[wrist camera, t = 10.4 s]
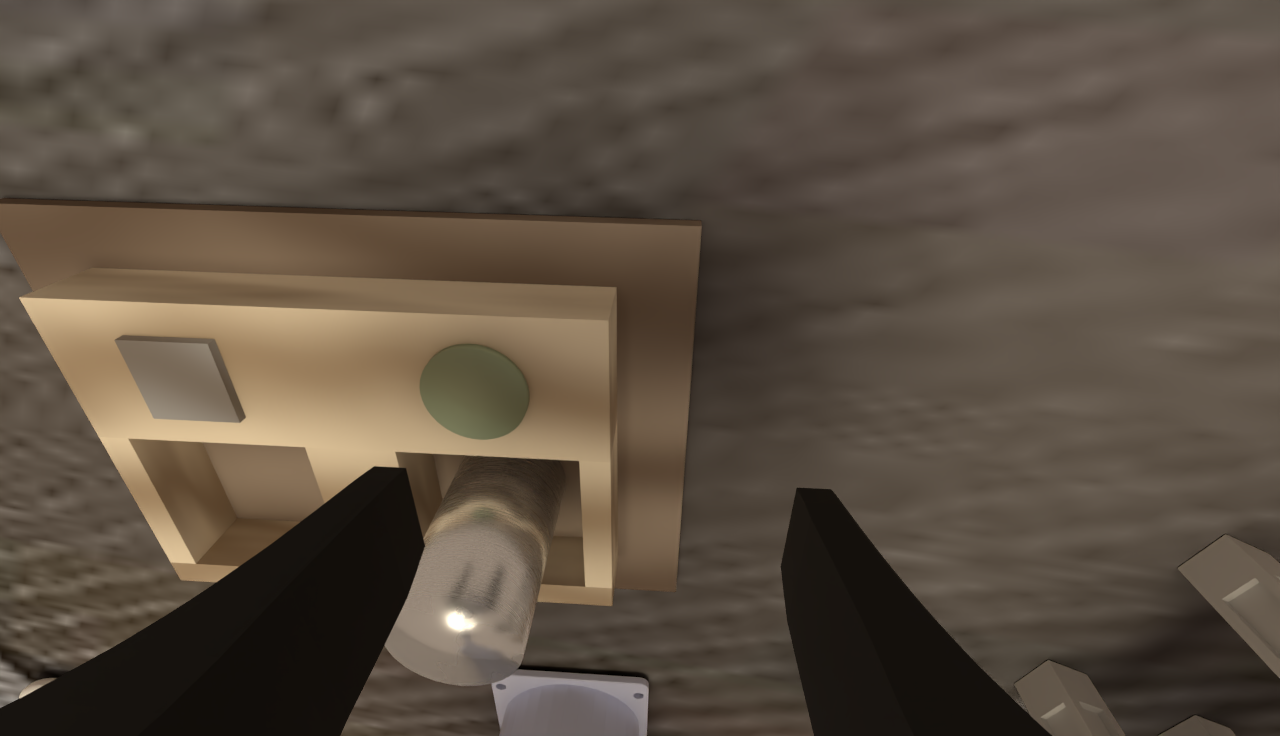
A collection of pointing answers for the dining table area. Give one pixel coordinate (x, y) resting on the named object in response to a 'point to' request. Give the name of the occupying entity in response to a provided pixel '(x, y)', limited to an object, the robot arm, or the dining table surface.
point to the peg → (480, 572)
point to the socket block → (373, 365)
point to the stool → (1238, 590)
